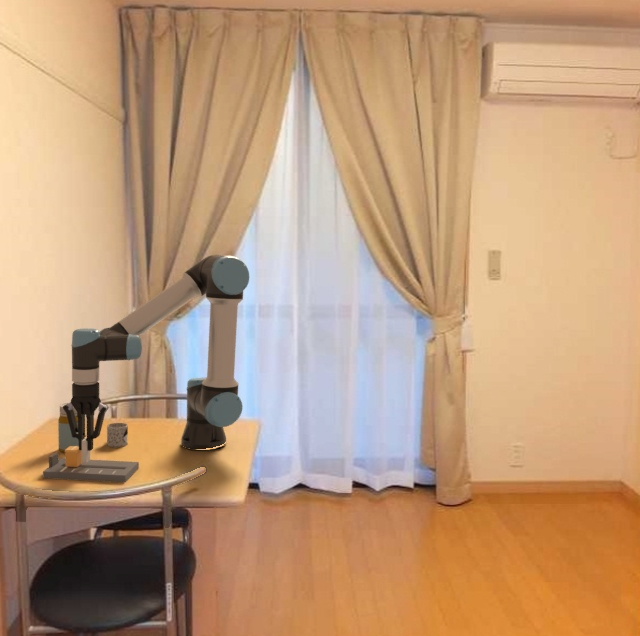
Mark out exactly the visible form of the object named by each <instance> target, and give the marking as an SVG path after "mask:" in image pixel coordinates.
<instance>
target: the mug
mask: <svg viewBox="0 0 640 636" xmlns="http://www.w3.org/2000/svg"><path fill="white" fill-rule="evenodd" d="M128 430H129V425H128V423H126V422H112V423H109V424H107V425H106V446H107V447H109V448H123V447H126V446H128V445H129V443H128V441H129V435H128V434H129V431H128Z"/></svg>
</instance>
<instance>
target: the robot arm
mask: <svg viewBox="0 0 640 636" xmlns="http://www.w3.org/2000/svg"><path fill="white" fill-rule="evenodd" d="M249 282H250V271H249V269H248V267H247V265H246V264H245V262H243V261H242V260H241V259H240V258H238V257H235V256H234V255H223V254H222V255H221V254H212V255H208V256H207V257H204V258H203V259H201V260H200V261H198V262H196V264H194V265H192V267H190V268H189V269H187V270H186V271H184V272H183V273H182V277H181V278H180V279H178V280H177V281H176V282H174V283H173V284H171V285H170V286H168V287H166V288H165V289H164V290H163V291H162V290H161V292H160V293H158V294H156V295H155V296H153V297H152V298H151V299H150V300H148V301H147V302H145V303H143V304H142V305H141V306H139V307H138V308H136V309H135V310H134V311H132V312H131V313H129V314H128V315H126V316H124V317H123V318H122V319H121V320H119V321H118V322H116V323H114V324H113V325H112V326H110V327H105V328H102V329H101V330H99V329H98V328H77V329H74V331H72V336H71V345H70V346H71V365H72V366H71V381H72V382H73V383H72V384H71V397H72V398H71V399H70V402H68V403H69V404H66V405H64V406H63V409H64V411H65V412H66V414H67V418H68V422H69V426H70V430H71V434H72V437H73V438H77V439H78V440H79V450H82V462H88V461H89V460H91V451H92V450H94V439H97V438H98V437H100V435H101V432H102V427H103V425H104V419H105V415H106V413H107V411H108V410H109V406H108V405H107V404H106V405H105V404H103V403H102V400H101V398H100V382H99V381H100V363H101V362H107V361H108V362H110V361H133V360H138V359H140V358H141V356H142V353H143V346H142V345H143V343H142V339H141V336H142V335H144V334H145V333H146V332H148V331H149V330H150V329H152V328H153V327H155V326H157V324H159V323H161V322H162V321H163V320H165V319H167V318H168V317H169V316H171V315H172V314H174V313H175V312H176V311H177V310H180V308H182V307H183V306H185V305H186V304H188V303H189V302H190V301H191V300H193V299H195V298H202V297H203V296H205V298H206V299H207V301H208V302H209V303H210V305H209V306H210V307H209V308H210V309H209V327H208V330H209V331H208V332H209V333H208V348H207V349H208V352H207V353H208V354H207V369H206V371H207V372H206V377H205V376H204V377H195V378H190V379H189V380H188V381H187V385H186V386H187V387H186V424H185V427H184V429H183V431H182V432H183V433H182V435H181V439H180V444H181V446H182V447H183V446H184V447H186V448H185V449H187V448H190V449H189V450H191V449H206V448H213V447H216V446H220V445H222V444H224V443H225V442H226V443H227V436H226V435H227V434H226V433H225V430H224V428H226V427H227V428H228V427H229V426H231V425H233V424H235V422H237V421H238V420H239V419H240V417H241V415H242V412H243V402H242V400H241V398H240V396H239V382H238V381H237V380H236V379H235V365H236V343H237V326H238V324H237V322H238V306H239V304H240V303H241V302H242V301H243V300H244V291H245V290H246V288H247V287H248V284H249ZM73 407H74V408H75V410H76V411H77V417H78V426H77V422H76V418H75V414H74V411H73ZM97 409H98V414H97V417H96V421H95V412H96V410H97ZM94 422H95V423H94ZM184 447H183V448H184Z"/></svg>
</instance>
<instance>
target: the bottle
mask: <svg viewBox="0 0 640 636" xmlns="http://www.w3.org/2000/svg"><path fill="white" fill-rule="evenodd" d="M69 403H70V402H67V403H61V404H60V405H59V417H58V422H57V423H58V424H57V425H58V426H57V427H58V431H57V432H58V451H59V452H61V453H63V454H65V449H67V448H68V447H69V446H79V440H78V439H77V438H73V437H72V434H71V430H70V426H69V422H68V418H67V414H66V412H65V411H64V409H63V406H64V405H66V404H69ZM73 411H74V414H75V418H76V422H77V426H78V417H77V411H76V410H75V408H74V407H73Z"/></svg>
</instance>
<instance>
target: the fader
mask: <svg viewBox="0 0 640 636" xmlns="http://www.w3.org/2000/svg"><path fill="white" fill-rule="evenodd" d="M64 454H65V458H66V466H68V467H78V466H79V465H80V464H82V450H79V446H69V447H68V448H67V449H65V453H64Z"/></svg>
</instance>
